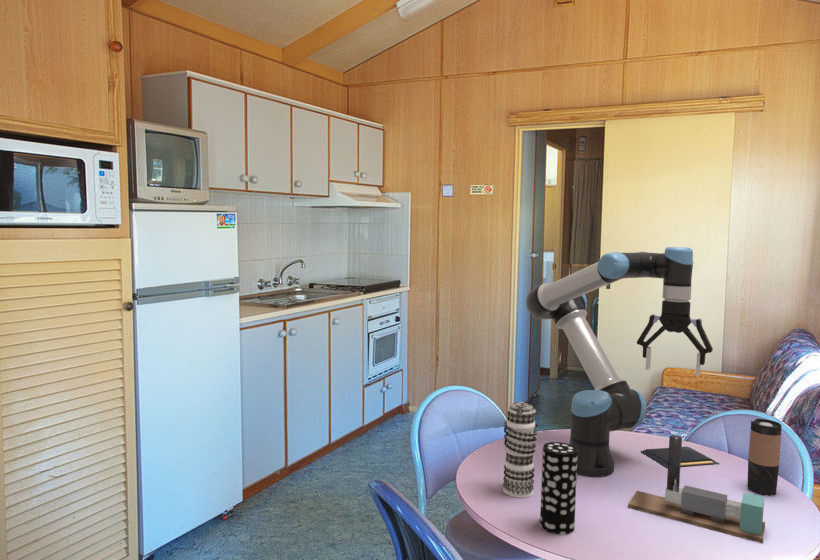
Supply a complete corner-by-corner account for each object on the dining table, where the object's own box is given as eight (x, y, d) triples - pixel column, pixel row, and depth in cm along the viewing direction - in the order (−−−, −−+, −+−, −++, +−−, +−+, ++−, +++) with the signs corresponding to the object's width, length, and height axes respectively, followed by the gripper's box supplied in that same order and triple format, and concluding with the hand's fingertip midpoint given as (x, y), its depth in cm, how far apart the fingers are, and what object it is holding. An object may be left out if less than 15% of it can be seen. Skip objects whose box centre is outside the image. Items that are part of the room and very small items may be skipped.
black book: (690, 444, 203) (721, 461, 189) (690, 449, 204) (721, 466, 189) (638, 447, 200) (665, 464, 185) (637, 452, 200) (665, 470, 185)
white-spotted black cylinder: (535, 518, 151) (538, 442, 149) (567, 517, 152) (570, 441, 150) (545, 535, 143) (549, 454, 141) (579, 534, 143) (582, 454, 142)
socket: (739, 530, 145) (741, 502, 144) (742, 519, 150) (743, 492, 150) (760, 535, 142) (762, 507, 142) (762, 524, 148) (764, 497, 147)
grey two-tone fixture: (665, 500, 156) (668, 437, 154) (667, 496, 158) (670, 434, 157) (754, 522, 145) (759, 455, 143) (755, 517, 147) (760, 451, 146)
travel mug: (781, 497, 166) (786, 428, 164) (751, 494, 167) (756, 425, 165) (770, 486, 173) (775, 419, 171) (742, 483, 175) (746, 417, 173)
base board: (627, 507, 158) (628, 503, 158) (636, 494, 166) (636, 490, 166) (762, 543, 141) (762, 539, 141) (764, 526, 149) (765, 522, 149)
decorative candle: (504, 482, 173) (507, 398, 170) (536, 487, 169) (540, 401, 167) (498, 494, 164) (501, 406, 162) (532, 500, 161) (535, 410, 159)
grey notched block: (680, 513, 153) (681, 491, 152) (683, 506, 157) (685, 484, 157) (723, 524, 147) (725, 502, 147) (726, 516, 152) (727, 494, 151)
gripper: (726, 302, 168) (721, 376, 169) (634, 295, 181) (631, 364, 183) (723, 305, 161) (718, 381, 163) (628, 298, 175) (625, 368, 177)
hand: (672, 372), depth 173 cm, fingers open, 13 cm apart
